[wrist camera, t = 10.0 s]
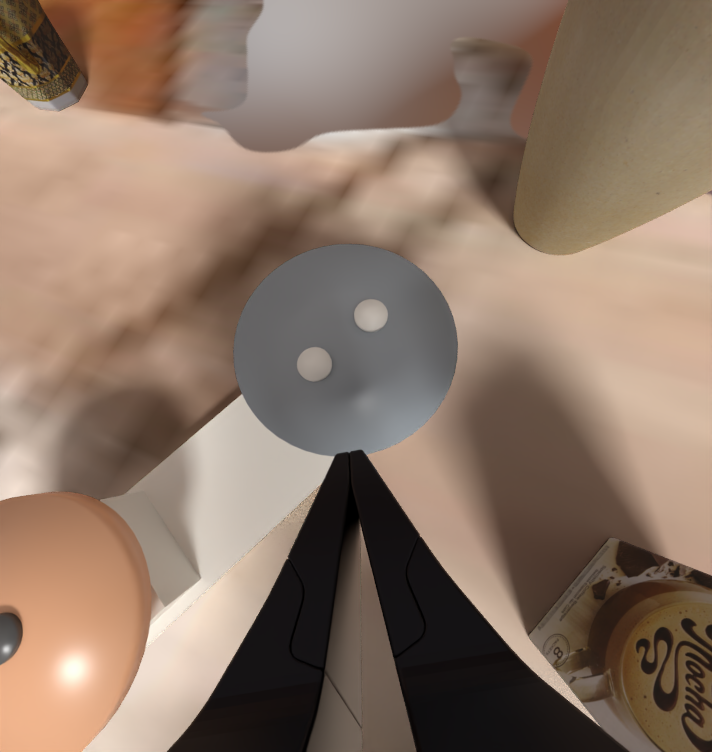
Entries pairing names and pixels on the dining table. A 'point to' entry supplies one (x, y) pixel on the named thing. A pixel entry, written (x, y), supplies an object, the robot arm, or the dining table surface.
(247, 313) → the two dot key
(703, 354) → the dining table surface
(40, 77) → the ceramic cup
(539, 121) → the plant pot
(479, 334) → the dining table surface
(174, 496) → the key console
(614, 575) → the coffee box
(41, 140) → the dining table surface
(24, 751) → the brown round domed piece
